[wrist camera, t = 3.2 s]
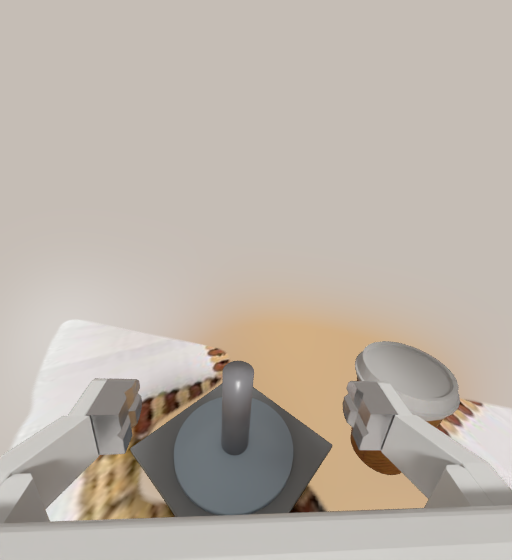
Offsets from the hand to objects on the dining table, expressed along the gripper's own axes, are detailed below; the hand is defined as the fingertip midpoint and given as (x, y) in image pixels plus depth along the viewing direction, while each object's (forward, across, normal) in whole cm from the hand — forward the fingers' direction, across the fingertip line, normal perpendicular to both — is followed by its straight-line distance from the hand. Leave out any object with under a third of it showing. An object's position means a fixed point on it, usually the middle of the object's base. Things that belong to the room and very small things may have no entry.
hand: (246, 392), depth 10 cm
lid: (+12, 0, +21) cm, 24 cm away
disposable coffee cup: (+12, -17, +21) cm, 30 cm away
